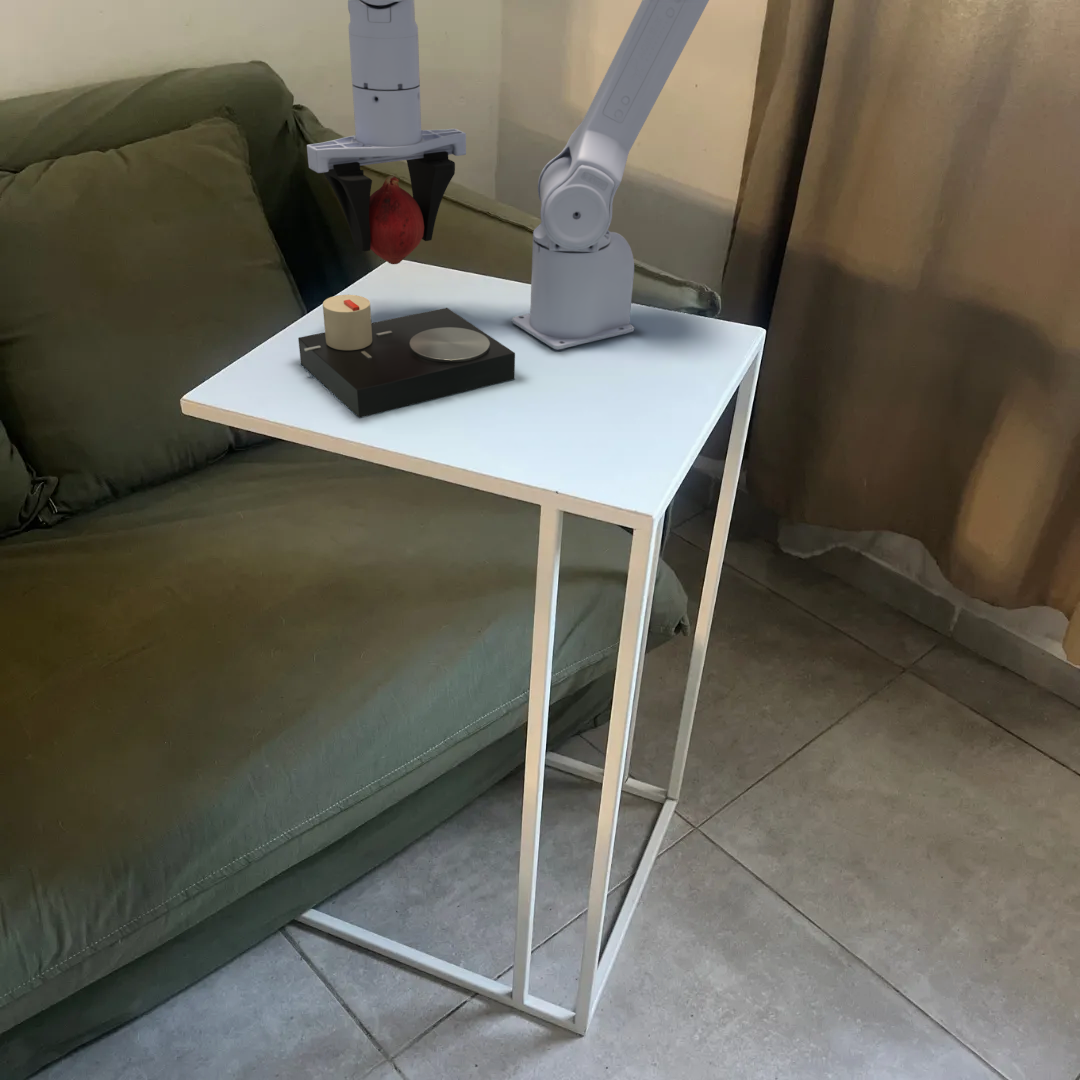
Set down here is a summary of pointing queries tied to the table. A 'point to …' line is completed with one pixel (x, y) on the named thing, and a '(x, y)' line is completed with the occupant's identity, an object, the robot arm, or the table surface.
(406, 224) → the onion
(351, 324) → the knob
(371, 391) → the hob
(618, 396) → the table surface
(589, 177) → the robot arm
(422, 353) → the burner
